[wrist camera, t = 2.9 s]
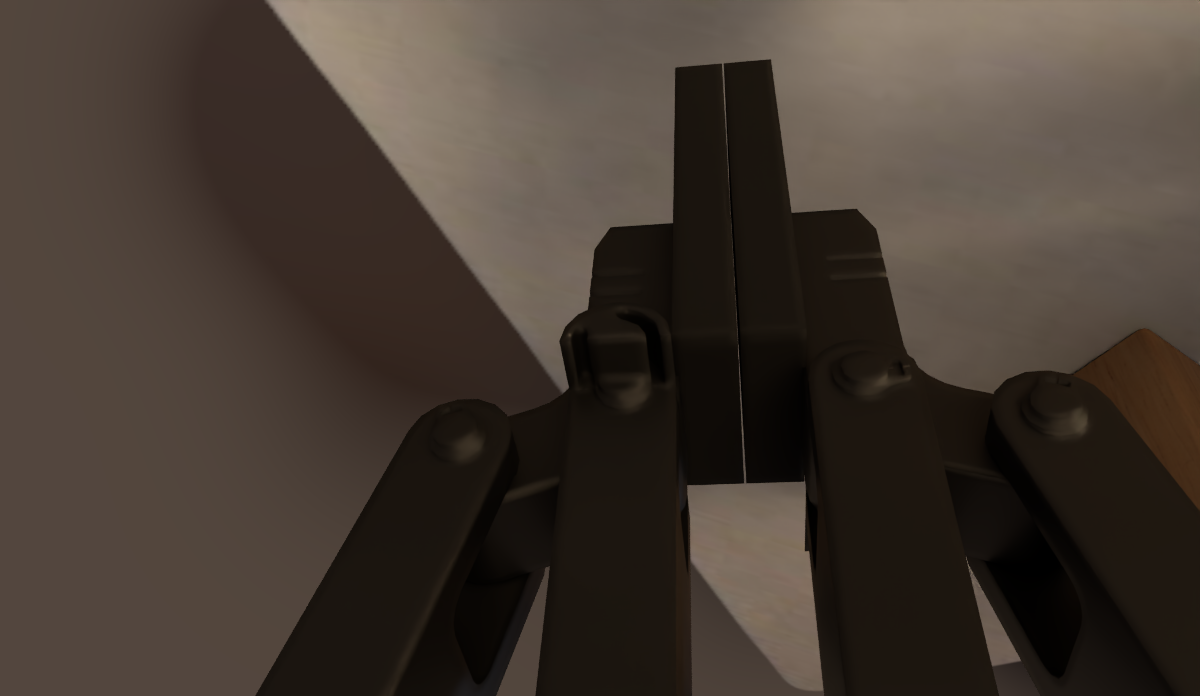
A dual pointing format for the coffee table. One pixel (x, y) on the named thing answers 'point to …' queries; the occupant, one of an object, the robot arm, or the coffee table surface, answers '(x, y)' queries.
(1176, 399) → the wooden block
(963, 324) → the coffee table surface
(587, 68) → the coffee table surface
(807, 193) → the coffee table surface
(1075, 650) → the robot arm
